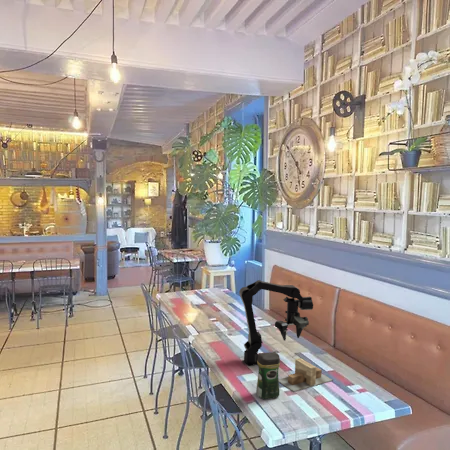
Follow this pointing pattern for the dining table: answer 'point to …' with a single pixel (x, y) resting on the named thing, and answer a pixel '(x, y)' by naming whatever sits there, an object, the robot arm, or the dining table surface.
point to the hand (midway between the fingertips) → (291, 339)
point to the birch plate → (306, 371)
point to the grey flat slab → (303, 381)
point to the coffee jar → (268, 375)
